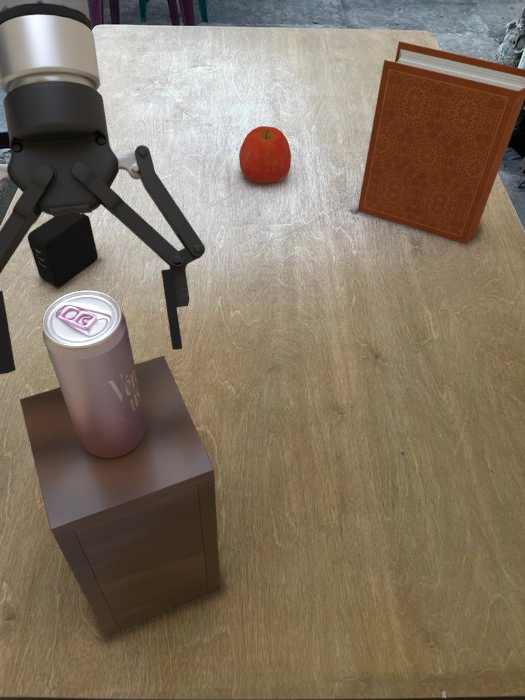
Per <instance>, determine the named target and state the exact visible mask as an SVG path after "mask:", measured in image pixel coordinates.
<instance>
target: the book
mask: <svg viewBox="0 0 525 700" xmlns="http://www.w3.org/2000/svg"><path fill="white" fill-rule="evenodd" d="M381 70H382V71H381V76H380V82H379V87H378V92H377V97H376V98H377V99H376V104H375V110H374V114H373V115H374V116H373V122H372V125H371V126H372V127H371V132H370V138H369V143H368V149H367V155H366V156H367V157H366V161H365V167H364V172H363V177H362V183H361V189H360V194H359V200H358V207H357V212H360V213H363V214H367V215H370V216H373V217H377V218H380V219H383V220H385V221H386V220H387V221H389V222H392V223H396V224H399V225H403V226H406V227H409V228H413V229H416V230H419V231H423V232H426V233H429V234H432V235H434V236H435V235H436V236H439V237H442V238H445V239H449V240H452V241H455V242H458V243H463V244H467V243H468V242H470V241H471V240H473V238H474V237H475V236H476V233H477V231H478V228H479V225H480V222H481V221H482V220H481V219H482V217H483V214H484V212H485V209H486V206H487V203H488V201H489V198H490V196H491V195H490V194H491V192H492V189H493V187H494V184H495V181H496V179H497V176H498V172H499V170H500V167H501V165H502V162H503V160H504V156H505V154H506V151H507V148H508V146H509V142H510V141H511V137H512V134H513V132H514V129H515V126H516V124H517V121H518V118H519V115H520V112H521V110H522V107H523V104H524V101H525V68H521V67H516V66H511V65H507V64H502V63H498V62H494V61H490V60H485V59H480V58H475V57H472V56H468V55H467V56H466V55H463V54H458V53H453V52H449V51H444V50H440V49H435V48H431V47H426V46H422V45H418V44H413V43H408V42H405V41H400V40H399V41H398V43H397V49H396V53H395V60H394V61H393V60H387V59H384V60H383V65H382V69H381Z"/></svg>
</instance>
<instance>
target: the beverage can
mask: <svg viewBox="0 0 525 700" xmlns="http://www.w3.org/2000/svg"><path fill="white" fill-rule="evenodd" d="M41 328H42V340H43V343H44V346H45V347H46V348H45V349H46V351H47V354H48V357H49V359H50V362H51V365H52V368H53V371H54V373H55V377H56V379H57V382H58V385H59V387H60V388H61V391H62V394H63V396H64V399H65V402H66V405H67V408H68V411H69V413H70V416H71V419H72V422H73V425H74V428H75V430H76V433H77V436H78V439H79V442H80V444H81V445H82V447H83V448H84V449H85V450H86V451H88V452H89V453H91V454H93V455H96V456H99V457H105V458H113V457H118V456H121V455H124V454H126V453H128V452H130V451H131V450H132V449H134V448H135V447H136V446H137V445H138V444H139V443H140V441H141V440H142V438H143V436H144V434H145V430H146V420H145V415H144V410H143V405H142V400H141V395H140V389H139V384H138V379H137V374H136V369H135V364H136V363H135V359H134V354H133V349H132V344H131V339H130V334H129V328H128V324H127V318H126V316H125V314H124V312H123V311H122V308H121V305H120V304H119V303H118V301H117V300H116V299H115V298H114V297H112V296H111V295H109V294H108V293H104V292H102V291H99V290H90V289H89V290H88V289H86V290H85V289H84V290H76V291H71V292H69V293H67V294H63V295H62V296H60V297H58V298H57V299H55V300H53V302H52V303H51V304H49V306H48V307H47V308H46V309H45V311H44V313H43V315H42V319H41Z"/></svg>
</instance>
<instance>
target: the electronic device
mask: <svg viewBox="0 0 525 700" xmlns="http://www.w3.org/2000/svg"><path fill="white" fill-rule="evenodd" d="M91 223H92V222H91V219H90V216H89V215H87V214H86V213H77V212H71V213H68V214H66V215H63V216H52V217H51V218H50V219H48V220H46V221H45V222H43V223H42V224H40V225H39V226H38V227H36V228H34V229H32V231H30V232H29V233H28V235H27V241H28V244H29V248H30V251H31V254H32V257H33V260H34V264H35V266H36V269H37V272H38V275H39V278H40V279H42V280H44V281H46V282H47V283H49V284H50V285H52V286H54V287H56V288H61V287H63V286H64V285H66V284H67V283H68V282H69V281H71V280H72V279H73V278H75V277H76V276H77V275H79V274H80V273H82V272H83V271H84V270H86V269H87V268H88V267H90V266H91V265H93V264H94V263H95V262H96V261H97V260H98V256H99V255H98V251H97V246H96V242H95V241H96V240H95V236H94V232H93V228H92V224H91Z"/></svg>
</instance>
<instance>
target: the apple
mask: <svg viewBox="0 0 525 700" xmlns="http://www.w3.org/2000/svg"><path fill="white" fill-rule="evenodd" d="M238 154H239V155H238V160H239V168H240V170H241V173H242V175H243V176H244V177H245V178H246V179H247V180H248V181H250V182H253V183H259V184H273V183H278V182H279V181H281V180H283V179H284V178H285V177H286V176H287V175H288V174H289V171H290V169H291V165H292V152H291V146H290V144H289V140H288V138H287V137H286V135H285V134H284V133H283V131H281V130H280V129H279V128H277V127H274V126H267V125H261V126H257V127H255V128H253V129H251V131H249V132H248V133H247V134H246V136H245V137H244V138H243V141H242V143H241V146H240V149H239V153H238Z"/></svg>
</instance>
